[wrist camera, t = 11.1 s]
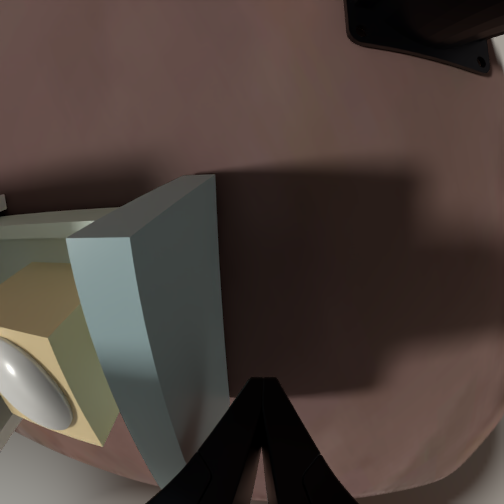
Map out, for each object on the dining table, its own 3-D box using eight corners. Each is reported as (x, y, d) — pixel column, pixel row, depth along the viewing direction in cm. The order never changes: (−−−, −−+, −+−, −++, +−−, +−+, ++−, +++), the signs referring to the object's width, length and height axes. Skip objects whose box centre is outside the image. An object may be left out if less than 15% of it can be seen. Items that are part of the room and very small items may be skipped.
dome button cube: (120, 264, 11) (43, 342, 6) (143, 363, 13) (101, 450, 8) (32, 262, 12) (-44, 317, 7) (60, 349, 13) (10, 416, 9)
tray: (215, 174, 11) (130, 237, 4) (230, 402, 15) (210, 523, 8) (-17, 198, 12) (-115, 244, 5) (36, 368, 16) (-18, 441, 9)
